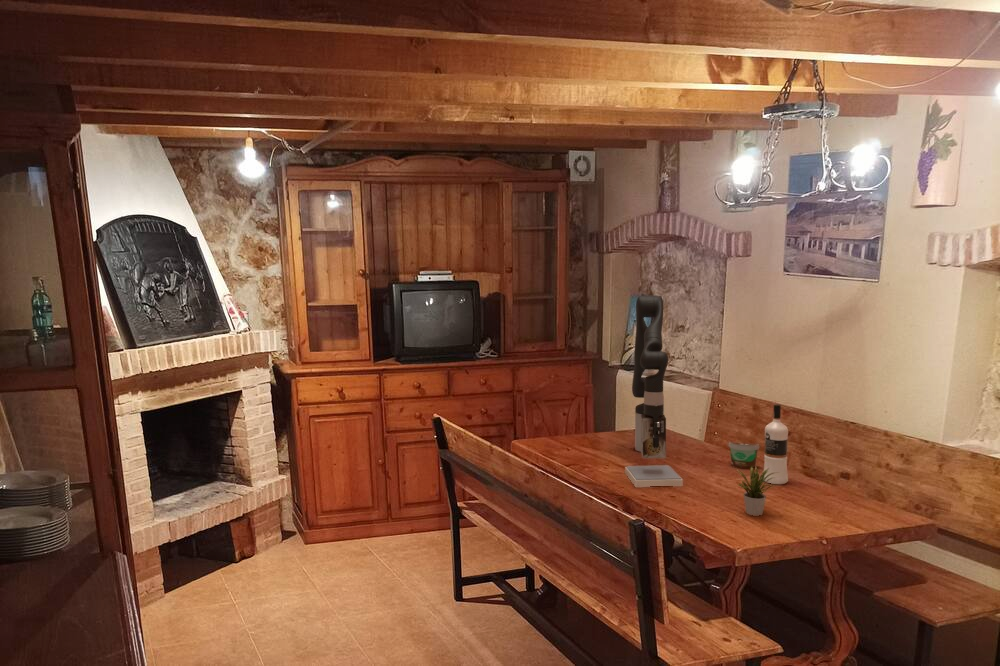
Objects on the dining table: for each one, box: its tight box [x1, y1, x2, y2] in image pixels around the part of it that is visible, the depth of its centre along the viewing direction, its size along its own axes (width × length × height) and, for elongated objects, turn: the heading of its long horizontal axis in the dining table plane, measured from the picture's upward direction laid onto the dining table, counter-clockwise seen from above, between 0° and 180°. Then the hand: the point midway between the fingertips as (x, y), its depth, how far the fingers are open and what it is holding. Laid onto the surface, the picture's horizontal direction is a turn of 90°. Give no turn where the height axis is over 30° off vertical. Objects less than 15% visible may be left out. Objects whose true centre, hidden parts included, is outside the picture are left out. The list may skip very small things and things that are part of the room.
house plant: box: [735, 465, 777, 517], centre depth 233 cm, size 14×14×16 cm
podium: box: [624, 464, 684, 488], centre depth 273 cm, size 18×18×3 cm
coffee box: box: [640, 414, 667, 459], centre depth 271 cm, size 9×6×16 cm
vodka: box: [762, 404, 789, 485], centre depth 267 cm, size 9×9×30 cm
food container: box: [727, 441, 761, 470], centre depth 287 cm, size 12×6×10 cm, turn 68°
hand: (653, 444), depth 271 cm, fingers closed on coffee box, 7 cm apart
